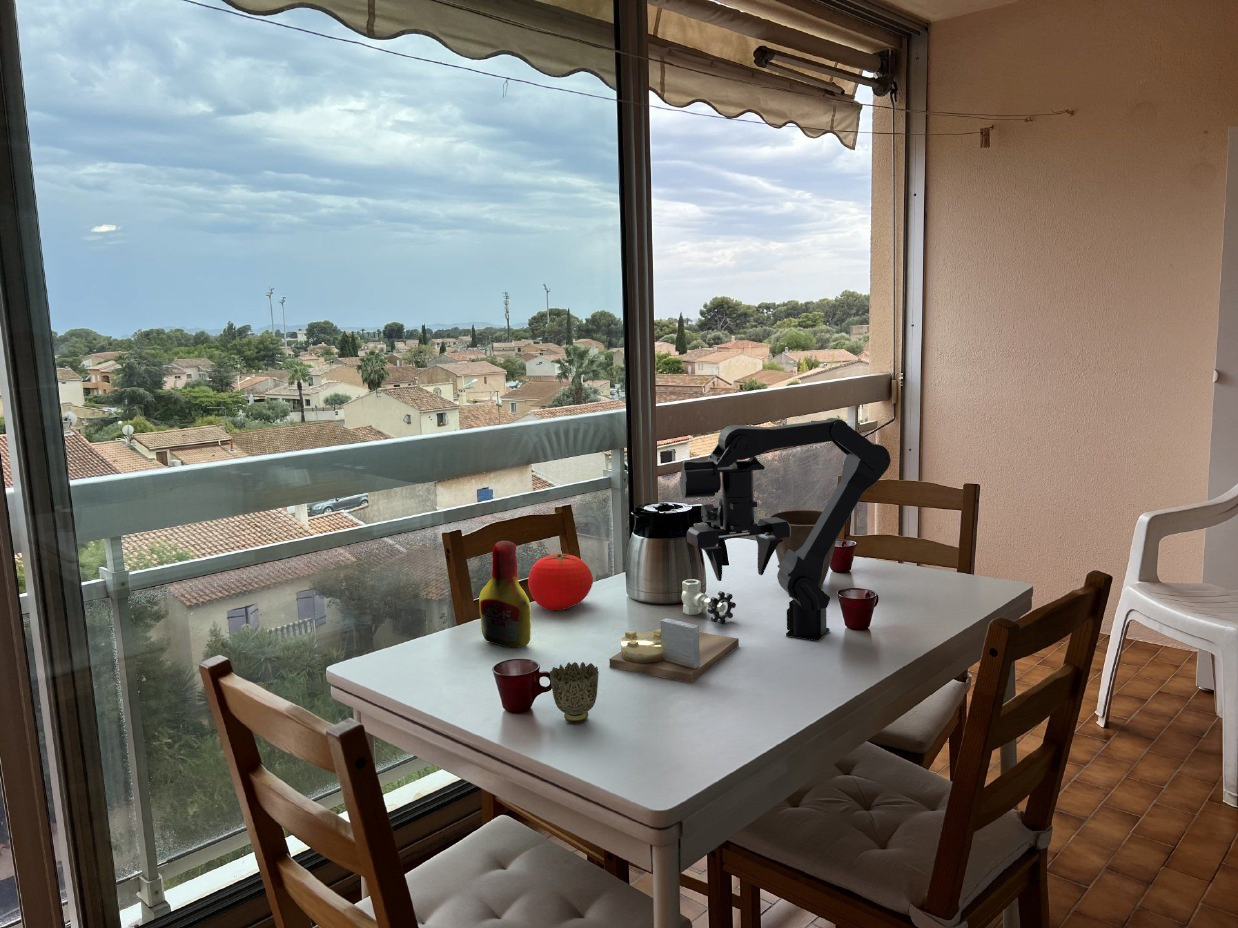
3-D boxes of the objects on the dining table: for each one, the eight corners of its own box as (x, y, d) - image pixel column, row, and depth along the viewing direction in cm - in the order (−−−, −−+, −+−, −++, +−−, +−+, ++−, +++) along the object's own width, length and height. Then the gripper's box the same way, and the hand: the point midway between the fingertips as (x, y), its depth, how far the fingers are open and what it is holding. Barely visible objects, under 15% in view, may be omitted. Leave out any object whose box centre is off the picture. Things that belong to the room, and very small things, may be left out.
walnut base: (738, 646, 166) (738, 638, 166) (691, 682, 150) (690, 674, 150) (662, 633, 175) (662, 625, 174) (609, 666, 159) (609, 658, 159)
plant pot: (846, 596, 193) (846, 523, 190) (776, 599, 193) (775, 525, 191) (831, 577, 208) (831, 508, 205) (766, 579, 208) (764, 511, 205)
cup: (551, 711, 141) (549, 662, 140) (599, 708, 142) (596, 659, 141) (552, 732, 134) (549, 681, 133) (602, 729, 135) (599, 677, 133)
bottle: (541, 645, 171) (535, 541, 168) (516, 655, 166) (509, 549, 163) (499, 632, 179) (493, 533, 176) (474, 641, 174) (467, 540, 171)
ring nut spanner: (610, 655, 159) (609, 616, 158) (643, 640, 166) (642, 603, 165) (680, 675, 149) (679, 634, 148) (712, 658, 156) (711, 619, 155)
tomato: (545, 595, 202) (542, 544, 200) (601, 600, 197) (599, 548, 196) (518, 613, 191) (515, 559, 189) (577, 618, 186) (575, 563, 184)
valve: (673, 613, 187) (710, 628, 177) (672, 582, 186) (710, 595, 176) (698, 606, 191) (736, 620, 181) (697, 576, 190) (735, 588, 180)
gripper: (763, 483, 176) (764, 561, 178) (674, 492, 170) (676, 573, 173) (791, 492, 165) (793, 575, 168) (697, 502, 160) (700, 588, 162)
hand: (740, 577), depth 168 cm, fingers open, 8 cm apart
